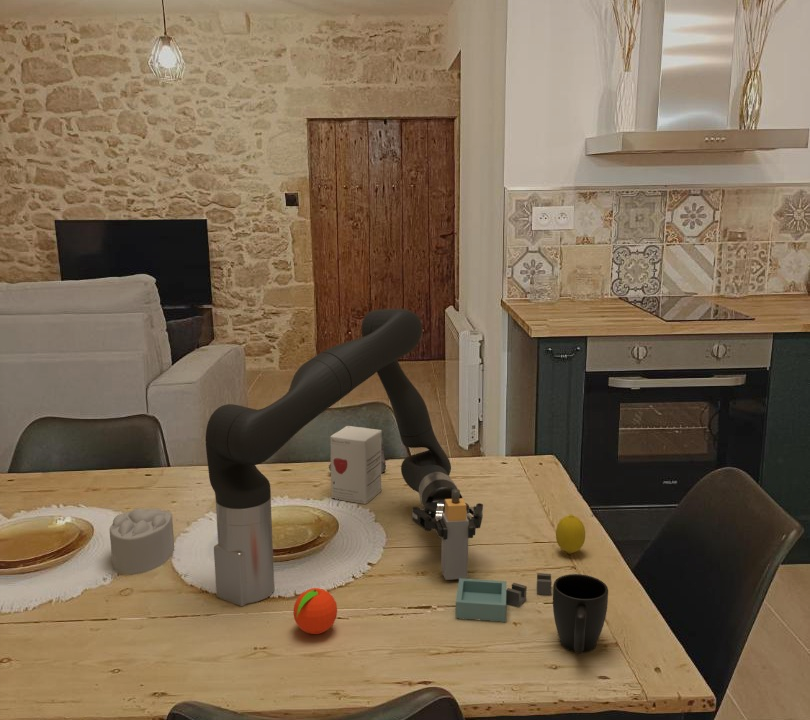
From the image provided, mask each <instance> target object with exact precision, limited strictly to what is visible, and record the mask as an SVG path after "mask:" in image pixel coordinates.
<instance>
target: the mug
mask: <svg viewBox="0 0 810 720" xmlns="http://www.w3.org/2000/svg"><path fill="white" fill-rule="evenodd" d="M608 588H609V587H608V586H607V585H606V583H605V582H603V581H602V580H600V579H599V578H596V577H594V576H590V575H587V574H582V573H581V574H578V573H571V574H565V575H561V576H559V577H558V578H556V579H555V580H554V582H553V584H552V612H553V617H554V623H555V626H556V632H557V634H558V639H559V642H560V645H561V646H562V647H563V648H564V649H566V650H568V651H571V652H575V653H577V654H582V653H589V652H590V651H593V650H595V648H597V647H596V646H597V643H598V641H599V639H600V636H601V634H602V631H603V628H604V626H605V625H604V624H605V620H606V617H607V611H608V601H609V589H608Z"/></svg>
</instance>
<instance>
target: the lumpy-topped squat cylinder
mask: <svg viewBox="0 0 810 720" xmlns="http://www.w3.org/2000/svg"><path fill="white" fill-rule="evenodd" d="M109 540H110V551H111V564H112V567H113V570H115V571H116V572H117V573H119V574H121V575H124V576H125V575H126V576H131V575H133V576H134V575H139V574H143V573H147V572H150V571H153V570H155V569H157V568H159V567H161V566H163V565H164V564H166V563H167V562H168V560H170V558H171V557H172V555H173V553H174V552H175V549H174V548H175V534H174V523H173V513H171V512H170V511H168V510H164V509H163V510H162V509H160V508H142V507H141V508H140V507H138V508H134V509H132V510H130V511H127V512H125V513H121V514H120V513H119V514H117V515H116V516H115V517H114V519H113V520H112V524H111V525H110V527H109ZM173 551H174V552H173Z"/></svg>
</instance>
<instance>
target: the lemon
mask: <svg viewBox="0 0 810 720" xmlns="http://www.w3.org/2000/svg"><path fill="white" fill-rule="evenodd" d="M555 539H556V543H557V545H558V547H559V548H560V549H561V550H563V551H564V552H566V554H568V555H571V554H573V553H576V552H578V551H580V549H581V548H582V547H583V546H584V544H585V542H586V529H585V525H584V523H583V521H582V520H581V519H580V518H578V517H577V516H575V515H574V514H569V515H566V516H564V517H562V518H561V519H560V520H559V522H558V523H557V525H556V529H555Z"/></svg>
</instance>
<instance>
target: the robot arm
mask: <svg viewBox="0 0 810 720" xmlns="http://www.w3.org/2000/svg"><path fill="white" fill-rule="evenodd" d="M360 329H361V331H360V333H361V337H359V338H355V339H352V340H349V341H345V342H343V343H340V344H337V345H335V346H332V347H329V348H327V349H325V350H323V351H322V352H320V353H318V354H317V355H316V354H315V355H314V356H313V357H311V359H309V360H307V361H306V362H304V363H303V364H302V365H300V366H299V368H298V369H297V370H296V372H295V373H294V375H293V378H292V380H291V383H290V386H289V389H288V391H287V392H286V393H285V394H284V395H283V396H282V397H280V398H279V399H277V400H275V401H274V402H273V403H271V404H270V405H267V406H265V407H263V408H259V409H255V408H252V407H247V406H243V405H239V404H233V403H229V404H224V405H220V406H219V407H218V408H216V409H215V410H214V411H213V412H212V414H210V417H209V418H208V421H207V424H206V429H205V449H206V450H205V453H206V461H207V469H208V477H209V482H210V486H211V488H212V490H213V492H214V496H215V497H214V498H215V510H216V511H215V513H216V528H217V529H216V530H217V531H216V532H217V544H215V545H214V547H213V554H214V555H213V556H214V557H213V559H214V575H215V578H214V579H215V591H216V592H215V593H216V597H217V598H218V599H220V600H224V601H227V602H229V603H232V604H235V605H237V606H239V607H244V606H246V605H248V604H253V603H257V602H259V601H262V600H265V599H267V598H269V597H270V596H271V595H272V594H273V593H272V592H274V591H275V569H274V546H273V543H274V542H273V523H272V522H273V520H272V519H273V518H272V517H273V516H272V499H271V498H272V497H271V496H272V494H271V492H272V491H271V489H272V488H271V483H270V481H269V479H268V478H267V477H266V476H265V475H264V474H263V473H262V472H261V471H260V470H259V468H258V467H257V465H261V464H262V463H264V462H266V461H268V460H269V459H270V458H271V457H272V456H274V455H275V454H276V453H277V452H278V451H279V450H280V449H281V448H283V446H285V445H286V444H287V443H288V442H290V440H291V439H292V438H293V437H294V436H295V435H296V434H297V433H298V432H300V430H302V429H303V428H304V427H305V426H306V425H308V424H309V423H311V422H312V421H314V420H315V419H316V418H317V417H318V416H320V415H321V414H322V413H323V412H324V411H326V410H328V409H329V408H330V407H333V405H335V404H336V403H338V402H339V401H340V400H342V399H343V398H345V397H346V396H347V395H349V394H350V393H351V392H353V390H354V389H356V388H357V387H358V386H360V385H361V384H363V383H364V382H366V381H367V380H368V379H369V378H371V377H372V376H374V375H375V374H376V373H377V376H378V377H379V380H380V383H381V384H382V386H383V388H384V390H385V393H386V396H387V398H388V400H389V402H390V405H391V408H392V411H393V414H394V418H395V421H396V425H397V429H398V433H399V435H400V439H401V442H402V444H403V446H405V448H411V449H416V448H419V449H421V448H424V449H427V450H424V451H421V452H419V453H415V454H412V455H409V456H407V457H406V458H404V460H403V461H402V462H401V466H400V468H401V469H400V471H401V476H402V479H403V480H404V482H405V483H406V485H408V486H409V488H411V489H412V490H413V491H414V492H417V493H418V494H419V499H420V503H421V505H422V506H423V508H420V507H419V506H413V507H412V518H411V519H412V520H411V521H412V522H414V523H415V524H416V525H418V526H419V527H420V528H421V529H423V530H424V531H425V532H430V531H432V530H434V532H435V533H436V534H437V535H438V537H439V538H441V539H442V538H443V540H447V533H448V530H447V527H446V525H445V523H444V521H443V520H442V513H445V499H452V490H453V489H458V487H457V485H456V483H455V482H454V480H453V479H452V478H451V477H450V474H451V472H452V471H451V470H452V463H451V461H450V459H449V457H448V455H447V454H446V453H445V450H444V449H443V447H442V446H441V444H440V443H439V441H438V439H437V436H436V435H435V432H434V429H433V425H432V422H431V417H430V414H429V411H428V408H427V404H426V402H425V400H424V398H423V397H422V395H421V394H420V392H419V391H418V389H417V388H416V387H415V386H414V384H413V383H412V382H411V380H410V379H409V377H408V376H407V375H406V374H405V372H404V371H403V369H402V367H401V365H400V363H399V361H398V360H399V359H400V358H402V357H404V356H406V355H408V354H410V353H412V352H413V351H414V350H415V349H416V348H417V346H418V345H419V343H420V340H421V338H422V334H423V324H422V321H421V319H420V317H419V315H417V314H416V313H415V312H413V311H411V310H408V309H405V308H386V309H385V308H384V309H376V310H375V309H374V310H372V311H369V312H368V313H366V315H365V316H364V318H363V319H362V323H361V328H360ZM460 498H463V496H462V494H461V493H460ZM465 504H466V517H467V519H468V520H469V526H468V539H473V538H474V536H476V529H480V528H481V526H482V522H483V516H484V504H483V503H476V505H473V506H470V505H469V504H468V503H467V502H465Z"/></svg>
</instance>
